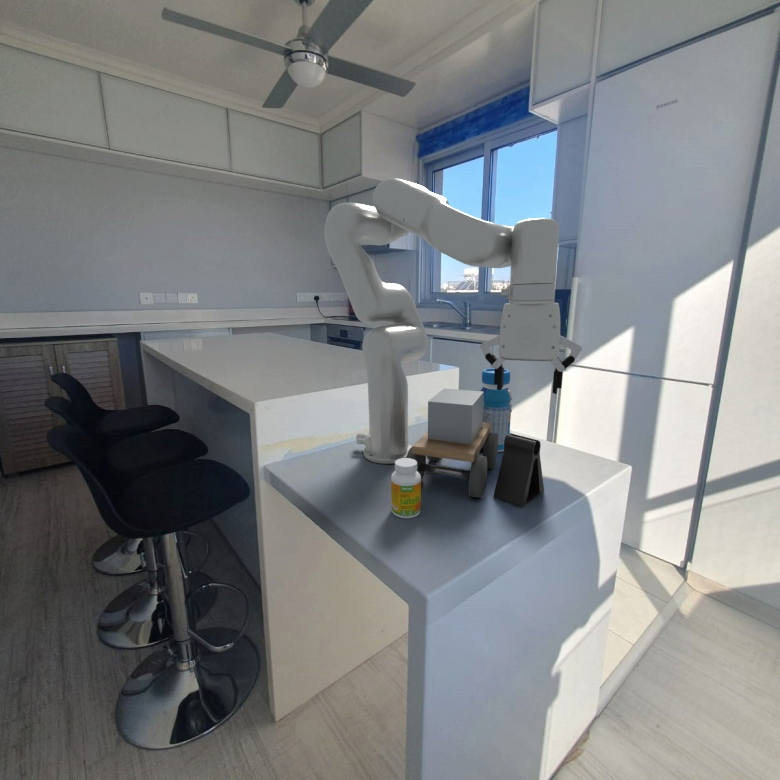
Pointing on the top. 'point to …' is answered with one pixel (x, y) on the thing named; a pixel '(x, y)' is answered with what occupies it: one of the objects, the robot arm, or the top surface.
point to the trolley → (457, 438)
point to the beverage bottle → (497, 405)
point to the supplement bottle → (406, 489)
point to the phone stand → (519, 471)
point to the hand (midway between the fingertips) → (526, 390)
